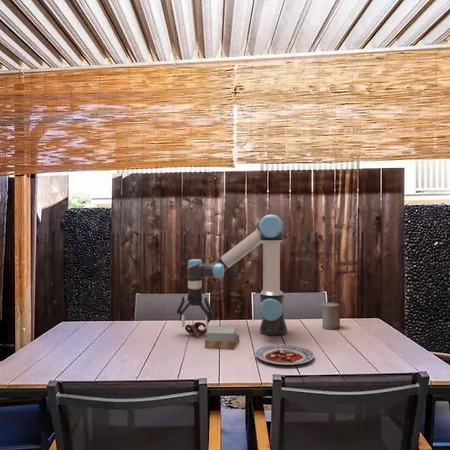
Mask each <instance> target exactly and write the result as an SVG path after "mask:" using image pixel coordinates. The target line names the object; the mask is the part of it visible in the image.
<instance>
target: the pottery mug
mask: <svg viewBox="0 0 450 450" xmlns="http://www.w3.org/2000/svg"><path fill="white" fill-rule="evenodd" d="M201 326H202V327H203V328H204V329H200V328H199V327H201ZM184 329H185V331H186V333H188V334H189V335H194V334H195V335H194V337H195V339H198V338H199V337H201V336H203V335H205V334H207V333H208V329H206V323H203V322H201V321H195V322H194V323H193V324H186V325H185V326H184Z"/></svg>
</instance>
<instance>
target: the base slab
mask: <svg viewBox="0 0 450 450" xmlns="http://www.w3.org/2000/svg"><path fill="white" fill-rule="evenodd" d="M239 343H240V334H237V333H236V336H235V340H234V342H223V341H207V338H206V339H205V340H204V348H205V349H216V350H217V349H219V350H230V351H234V350H235V348H236V347H237V346H238V344H239Z"/></svg>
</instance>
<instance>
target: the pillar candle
mask: <svg viewBox="0 0 450 450" xmlns="http://www.w3.org/2000/svg"><path fill="white" fill-rule="evenodd" d="M321 307H322V308H321V310H322V311H321V312H322V329H325V330H330V331H333V330H334V331H335V330H336V331H337V330H340V329H341V319H340V318H341V315H340V314H341V313H340V312H341V311H340V310H341V309H340V303H337V302H332V301H330V302H323V303H322V304H321Z"/></svg>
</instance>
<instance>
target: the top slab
mask: <svg viewBox="0 0 450 450" xmlns="http://www.w3.org/2000/svg"><path fill="white" fill-rule="evenodd" d="M206 334H207V335H206V339H207V341H223V342H234V340H235V336H236V334H237V327H236V326H235V325H233V326H232V325H229V326H228V325H210V327H209V328H208V330H207V332H206Z"/></svg>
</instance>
